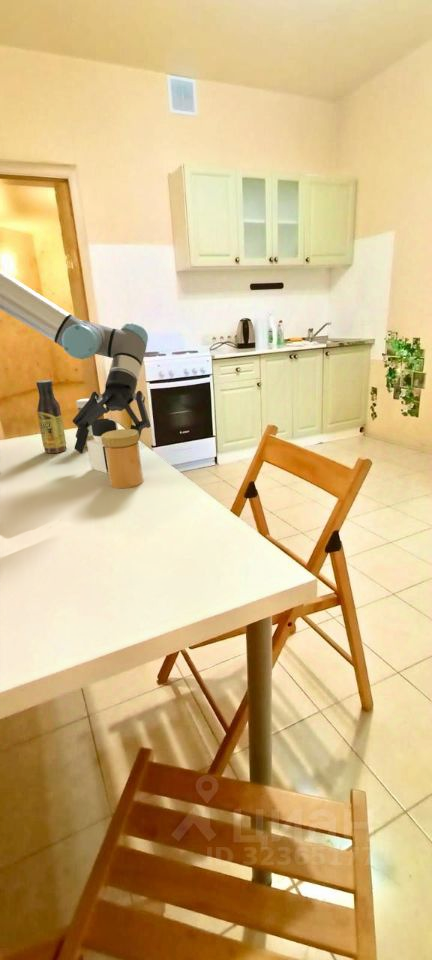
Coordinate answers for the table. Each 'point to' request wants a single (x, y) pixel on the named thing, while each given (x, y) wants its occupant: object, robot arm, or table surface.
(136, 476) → the jar
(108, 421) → the medicine bottle
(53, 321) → the robot arm
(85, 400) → the sprinkles bottle
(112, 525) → the table surface
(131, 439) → the lid
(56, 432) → the sauce bottle
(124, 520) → the table surface
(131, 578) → the table surface
